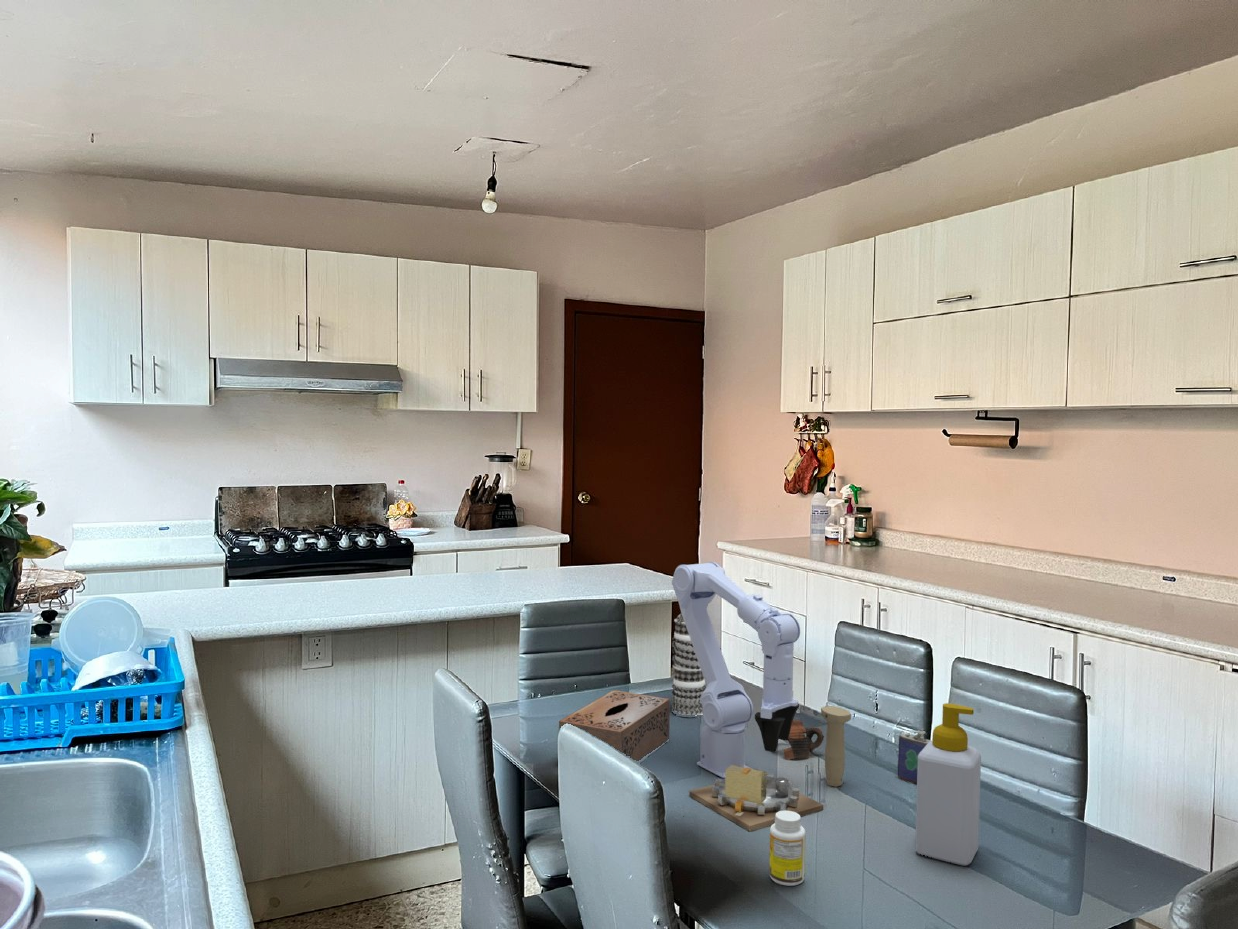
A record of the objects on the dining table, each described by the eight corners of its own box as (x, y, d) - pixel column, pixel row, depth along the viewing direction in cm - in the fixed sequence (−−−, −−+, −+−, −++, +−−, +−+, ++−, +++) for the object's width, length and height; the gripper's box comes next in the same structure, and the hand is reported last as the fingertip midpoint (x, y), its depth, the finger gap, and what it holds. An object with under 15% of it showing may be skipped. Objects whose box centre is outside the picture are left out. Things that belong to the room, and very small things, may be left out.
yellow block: (725, 796, 168) (725, 769, 167) (730, 791, 170) (731, 764, 170) (760, 804, 164) (761, 776, 164) (766, 798, 167) (766, 771, 167)
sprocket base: (689, 796, 174) (689, 790, 174) (759, 778, 184) (759, 772, 184) (749, 831, 159) (750, 825, 159) (823, 810, 169) (823, 803, 169)
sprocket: (708, 809, 165) (708, 785, 165) (716, 776, 181) (716, 754, 181) (799, 818, 162) (799, 794, 162) (799, 783, 178) (799, 761, 178)
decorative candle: (708, 719, 222) (710, 618, 221) (671, 718, 222) (672, 618, 221) (705, 707, 231) (707, 611, 230) (669, 707, 231) (671, 610, 230)
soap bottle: (969, 869, 146) (973, 717, 146) (913, 855, 151) (917, 707, 150) (979, 848, 154) (983, 703, 153) (926, 835, 159) (929, 694, 158)
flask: (944, 786, 181) (945, 734, 181) (939, 790, 179) (940, 737, 179) (900, 774, 187) (901, 724, 187) (894, 778, 185) (895, 727, 185)
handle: (834, 792, 178) (836, 717, 177) (814, 780, 183) (816, 707, 183) (854, 788, 180) (855, 714, 179) (833, 776, 185) (835, 705, 185)
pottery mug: (771, 762, 194) (764, 724, 198) (776, 768, 203) (769, 731, 206) (827, 752, 192) (818, 714, 196) (829, 758, 201) (821, 721, 204)
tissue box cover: (619, 780, 183) (620, 732, 182) (558, 768, 189) (558, 721, 189) (669, 742, 206) (669, 699, 205) (612, 732, 212) (613, 690, 212)
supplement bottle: (780, 866, 146) (781, 805, 146) (810, 878, 143) (812, 815, 143) (762, 879, 142) (763, 816, 142) (793, 891, 139) (795, 826, 138)
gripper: (786, 688, 168) (785, 760, 168) (808, 671, 181) (806, 737, 181) (750, 683, 171) (749, 753, 172) (774, 666, 184) (773, 731, 185)
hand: (776, 745), depth 177 cm, fingers open, 7 cm apart
